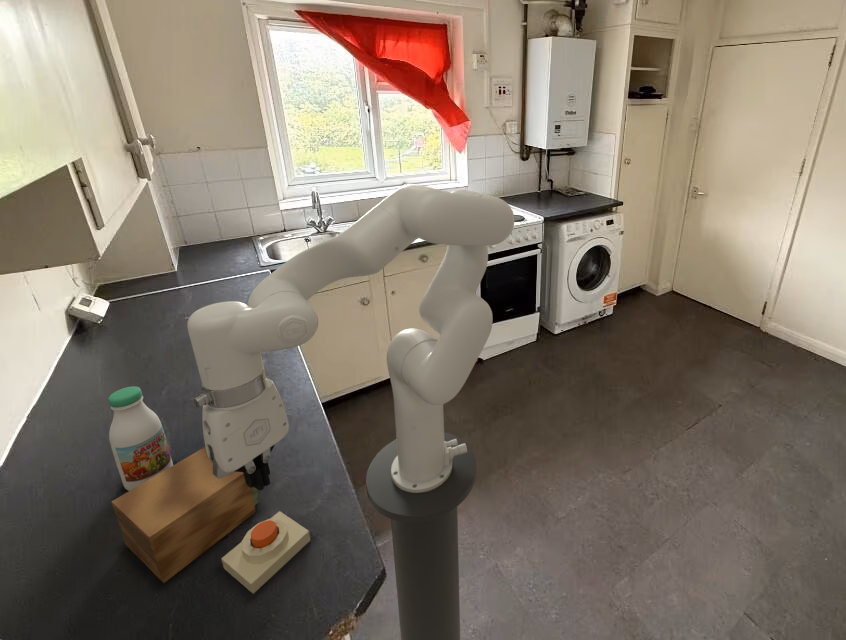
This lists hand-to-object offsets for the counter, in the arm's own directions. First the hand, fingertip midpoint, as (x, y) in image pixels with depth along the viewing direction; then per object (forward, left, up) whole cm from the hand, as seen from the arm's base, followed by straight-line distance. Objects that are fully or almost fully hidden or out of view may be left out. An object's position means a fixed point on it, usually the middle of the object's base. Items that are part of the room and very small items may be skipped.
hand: (259, 483), depth 67 cm
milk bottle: (+23, -27, -14) cm, 38 cm away
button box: (+1, +1, -14) cm, 14 cm away
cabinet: (+13, -10, -14) cm, 22 cm away
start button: (+1, +1, -11) cm, 11 cm away
